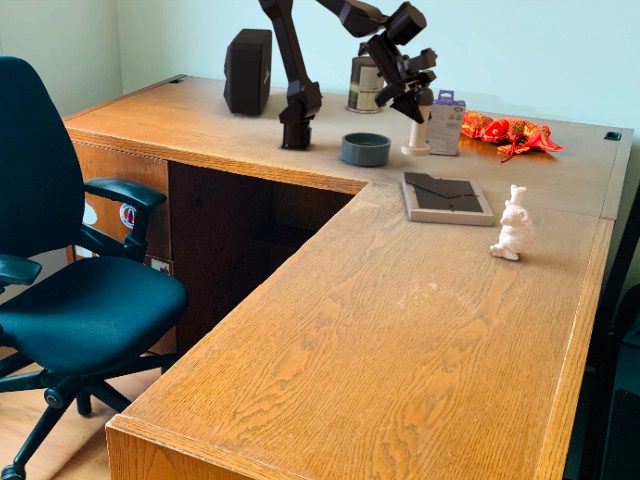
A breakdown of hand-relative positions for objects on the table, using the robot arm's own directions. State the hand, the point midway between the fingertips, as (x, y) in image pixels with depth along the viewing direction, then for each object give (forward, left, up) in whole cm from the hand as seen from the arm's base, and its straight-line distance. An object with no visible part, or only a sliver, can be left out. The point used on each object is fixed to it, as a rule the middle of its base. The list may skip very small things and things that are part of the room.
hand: (426, 121), depth 145 cm
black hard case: (-53, +49, -13) cm, 73 cm away
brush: (-1, +1, -7) cm, 7 cm away
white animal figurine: (+17, -37, -13) cm, 43 cm away
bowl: (-13, +8, -12) cm, 20 cm away
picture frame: (+6, -15, -13) cm, 21 cm away
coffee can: (-18, +57, -13) cm, 61 cm away
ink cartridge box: (+4, +21, -13) cm, 25 cm away
